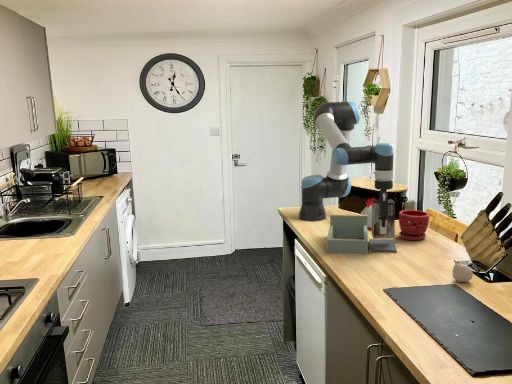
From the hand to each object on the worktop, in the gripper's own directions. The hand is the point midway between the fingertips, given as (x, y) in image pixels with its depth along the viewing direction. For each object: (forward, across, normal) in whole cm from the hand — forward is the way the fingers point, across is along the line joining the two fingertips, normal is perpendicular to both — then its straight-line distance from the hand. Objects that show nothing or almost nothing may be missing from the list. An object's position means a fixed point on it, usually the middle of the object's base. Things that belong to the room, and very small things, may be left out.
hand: (382, 231), depth 199 cm
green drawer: (+7, -1, -15) cm, 17 cm away
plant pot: (+7, -15, +14) cm, 22 cm away
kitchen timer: (+7, -32, -4) cm, 33 cm away
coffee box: (+3, 0, 0) cm, 3 cm away
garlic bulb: (+8, +36, +26) cm, 45 cm away
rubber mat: (+7, 0, 0) cm, 7 cm away
